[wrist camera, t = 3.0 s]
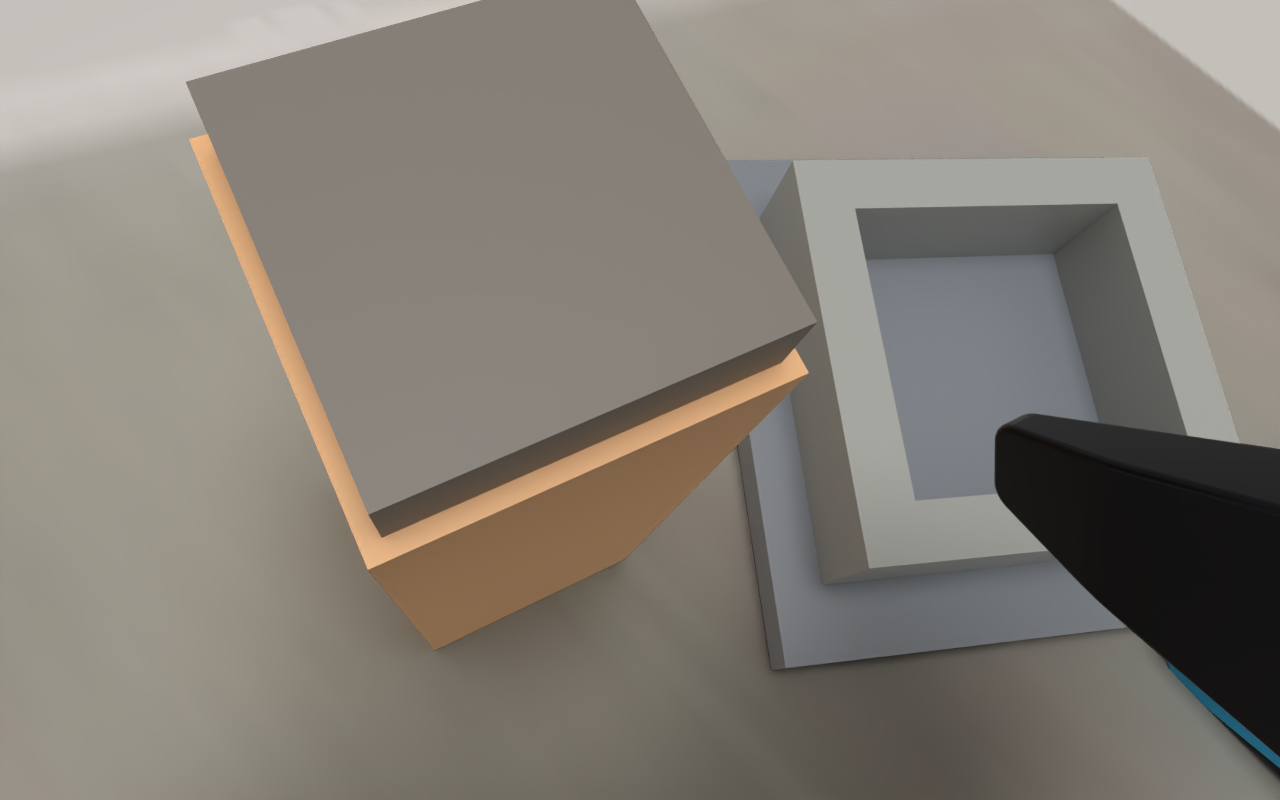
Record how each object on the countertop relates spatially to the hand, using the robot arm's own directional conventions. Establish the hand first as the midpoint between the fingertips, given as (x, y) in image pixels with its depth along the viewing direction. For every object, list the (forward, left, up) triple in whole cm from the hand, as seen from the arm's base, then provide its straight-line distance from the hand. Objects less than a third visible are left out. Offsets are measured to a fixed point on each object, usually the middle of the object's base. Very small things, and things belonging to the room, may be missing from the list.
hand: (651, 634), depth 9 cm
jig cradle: (+9, -6, -11) cm, 16 cm away
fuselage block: (+3, +3, -11) cm, 11 cm away
